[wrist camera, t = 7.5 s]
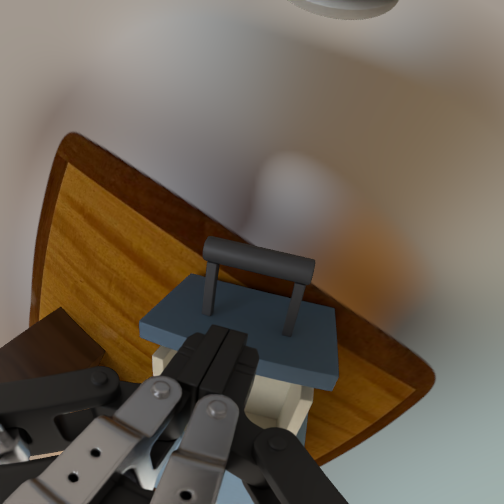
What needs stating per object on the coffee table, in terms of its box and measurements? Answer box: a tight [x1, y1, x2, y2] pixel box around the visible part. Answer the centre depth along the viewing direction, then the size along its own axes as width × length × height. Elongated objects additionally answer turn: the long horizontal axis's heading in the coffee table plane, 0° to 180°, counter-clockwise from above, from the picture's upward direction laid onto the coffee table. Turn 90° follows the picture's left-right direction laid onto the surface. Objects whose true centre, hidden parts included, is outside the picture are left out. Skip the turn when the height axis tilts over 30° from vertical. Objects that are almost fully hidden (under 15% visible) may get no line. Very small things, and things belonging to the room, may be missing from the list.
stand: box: [0, 307, 105, 383], centre depth 22 cm, size 8×8×20 cm
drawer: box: [139, 236, 339, 436], centre depth 20 cm, size 18×11×8 cm, turn 170°
